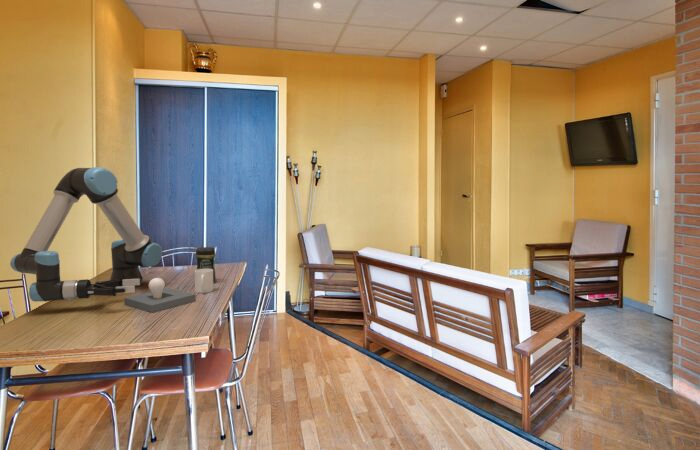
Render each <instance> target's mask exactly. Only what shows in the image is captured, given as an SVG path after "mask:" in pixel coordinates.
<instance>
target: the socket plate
mask: <svg viewBox="0 0 700 450" xmlns="http://www.w3.org/2000/svg"><path fill="white" fill-rule="evenodd" d="M196 294H197V293H196ZM196 294H195V293H192V292H187V291H181V290H177V289H173V288H168V287H166V288H164V289H163V291H162V297H161V299H158V300H157V299H154V297H153V294H152V292H151V291H150V292H145V293H140V294H135V295H132V296H127V297H124V298H123V299H124V302H123V303H124V306H127V307H131V308H135V309H137V310H141V311H144V312H148V313H150V314H151V313H152V314H153V313H157V312H161V311H163V310H164V311H166V310H168V309H172V308H175V307H178V306H182V305H186V304H190V303H194V302H196V301H197V300H196V299H197V297H196Z"/></svg>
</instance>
